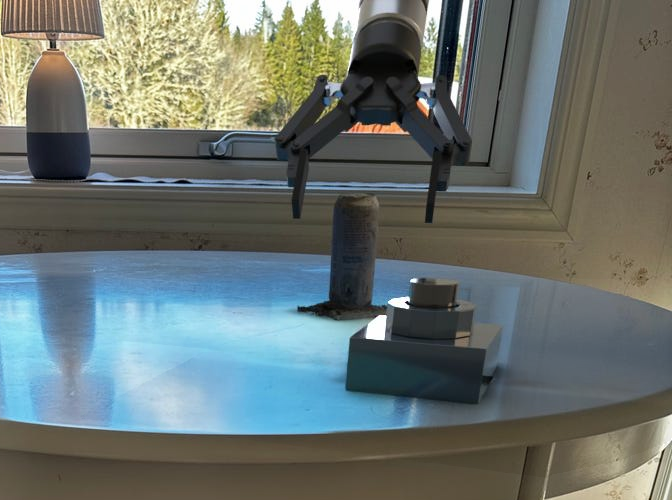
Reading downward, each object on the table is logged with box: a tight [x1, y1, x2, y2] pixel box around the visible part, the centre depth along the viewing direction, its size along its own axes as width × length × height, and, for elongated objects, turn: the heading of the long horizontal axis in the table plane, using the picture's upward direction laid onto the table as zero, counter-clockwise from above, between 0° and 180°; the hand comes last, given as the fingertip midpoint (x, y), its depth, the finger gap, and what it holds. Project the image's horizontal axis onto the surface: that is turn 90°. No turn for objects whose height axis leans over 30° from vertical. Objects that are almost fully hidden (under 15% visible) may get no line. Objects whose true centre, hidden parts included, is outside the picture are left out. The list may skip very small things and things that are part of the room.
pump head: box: [408, 277, 460, 309], centre depth 72 cm, size 4×4×2 cm
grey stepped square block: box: [344, 296, 504, 405], centre depth 74 cm, size 10×10×6 cm
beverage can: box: [296, 192, 387, 321], centre depth 96 cm, size 9×8×12 cm
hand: (361, 212), depth 98 cm, fingers open, 13 cm apart
